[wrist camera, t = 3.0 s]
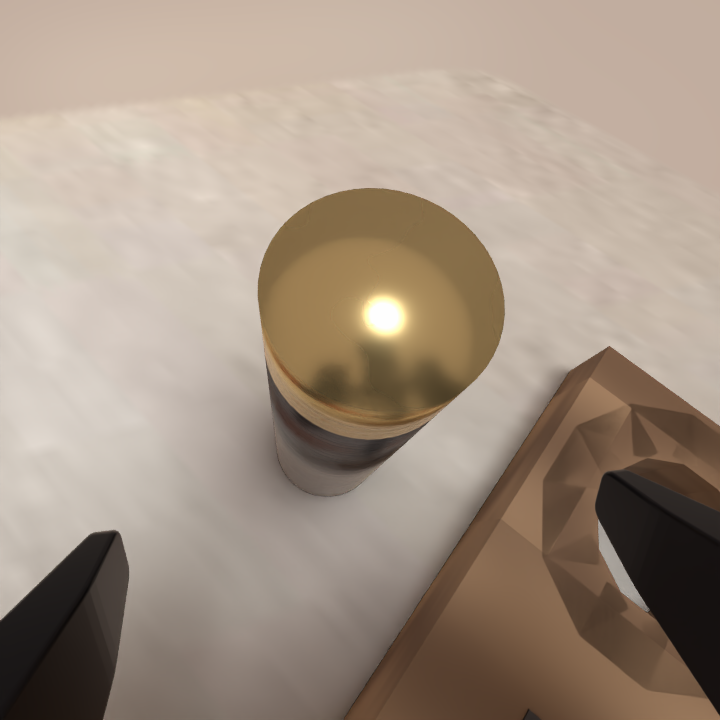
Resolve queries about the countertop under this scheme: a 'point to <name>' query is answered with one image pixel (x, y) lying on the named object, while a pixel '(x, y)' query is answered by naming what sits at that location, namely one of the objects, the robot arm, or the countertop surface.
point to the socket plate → (556, 574)
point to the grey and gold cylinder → (370, 329)
